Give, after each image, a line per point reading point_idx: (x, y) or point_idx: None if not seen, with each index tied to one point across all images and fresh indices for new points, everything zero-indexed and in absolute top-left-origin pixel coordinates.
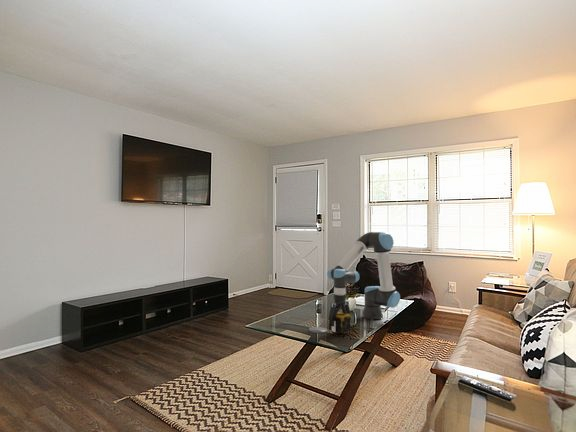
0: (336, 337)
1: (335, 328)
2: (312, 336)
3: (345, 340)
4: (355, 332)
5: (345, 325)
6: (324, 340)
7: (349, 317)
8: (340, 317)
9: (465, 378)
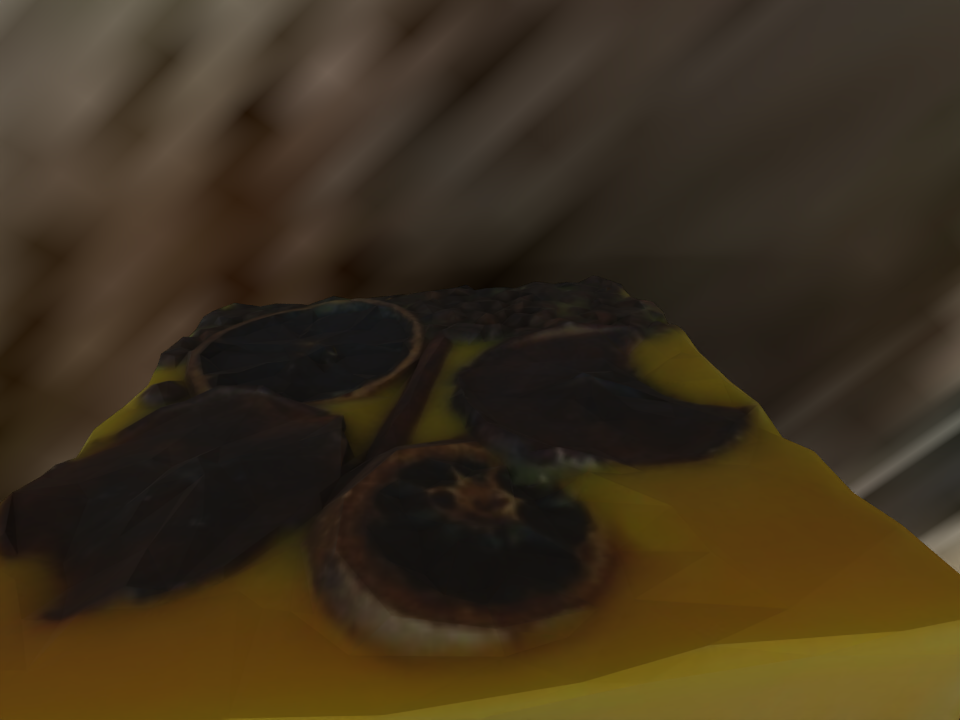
0: None
1: None
2: None
3: (700, 42)
4: (47, 307)
5: (449, 370)
6: (953, 318)
7: (49, 600)
8: (945, 664)
9: None
